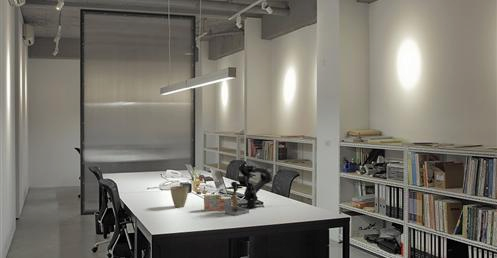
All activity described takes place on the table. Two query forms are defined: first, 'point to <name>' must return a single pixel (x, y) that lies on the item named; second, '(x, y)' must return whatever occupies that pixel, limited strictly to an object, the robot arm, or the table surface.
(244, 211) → the tray
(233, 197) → the scraper handle
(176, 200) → the plant pot
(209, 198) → the colourful rectangular box
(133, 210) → the table surface
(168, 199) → the table surface
